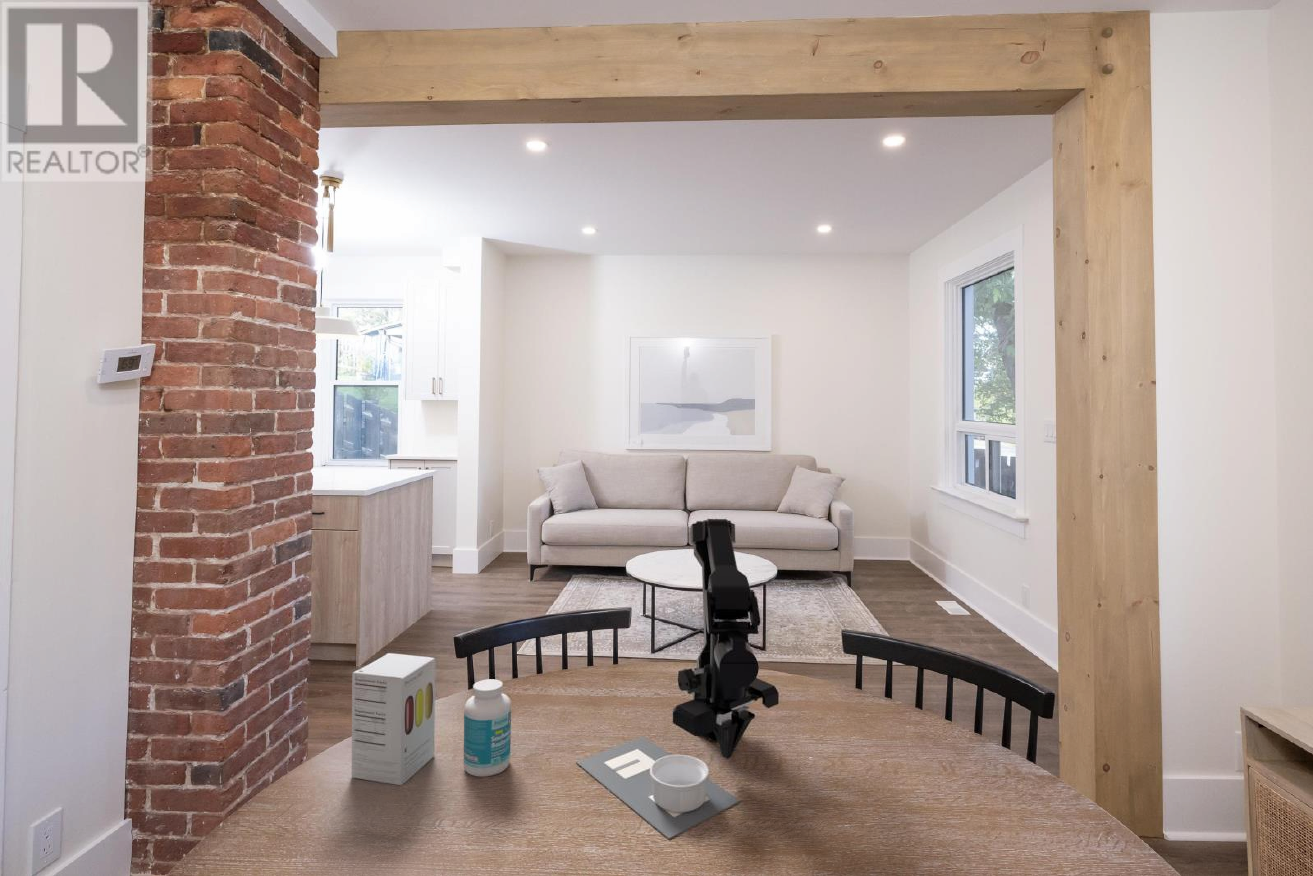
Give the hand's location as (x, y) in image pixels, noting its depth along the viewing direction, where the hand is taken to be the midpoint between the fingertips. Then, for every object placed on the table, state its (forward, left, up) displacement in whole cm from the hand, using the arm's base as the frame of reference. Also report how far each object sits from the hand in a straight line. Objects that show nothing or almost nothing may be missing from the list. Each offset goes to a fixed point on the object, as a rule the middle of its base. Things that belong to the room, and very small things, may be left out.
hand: (726, 757), depth 101 cm
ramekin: (+10, 0, -3) cm, 11 cm away
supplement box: (+41, -35, -3) cm, 54 cm away
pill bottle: (+29, -26, -3) cm, 39 cm away
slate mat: (+10, -6, -3) cm, 12 cm away
